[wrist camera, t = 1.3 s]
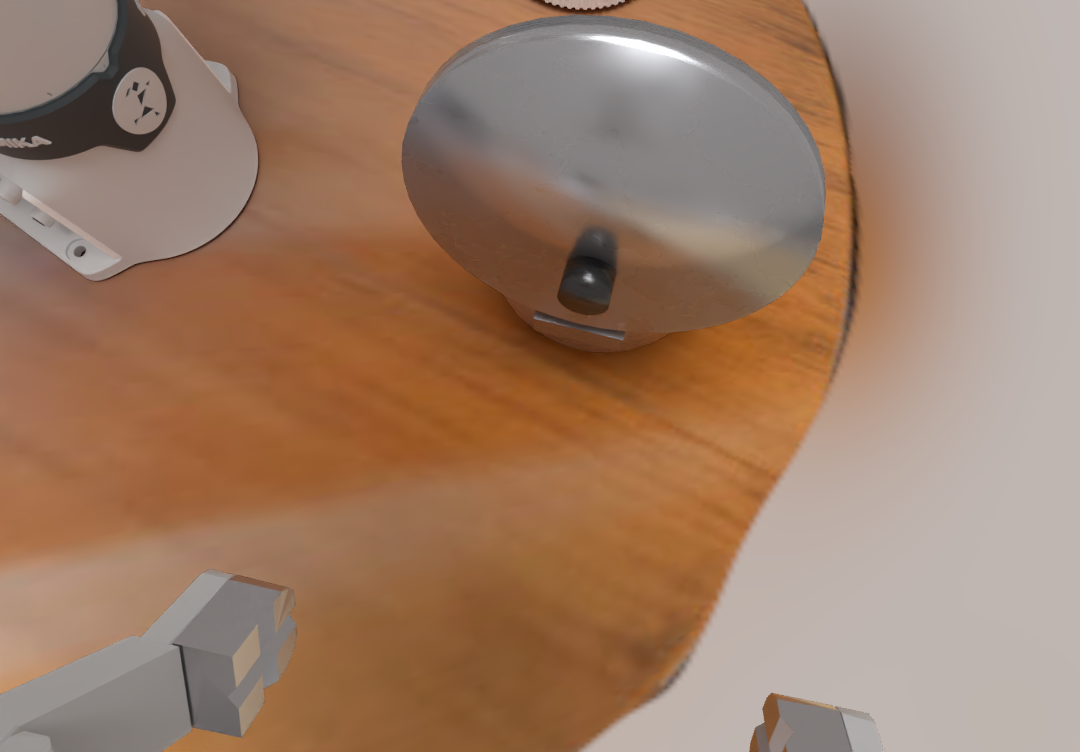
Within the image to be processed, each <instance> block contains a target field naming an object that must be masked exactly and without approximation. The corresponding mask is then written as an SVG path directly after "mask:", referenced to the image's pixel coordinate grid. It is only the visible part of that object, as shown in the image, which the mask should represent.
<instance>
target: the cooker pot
mask: <svg viewBox="0 0 1080 752" xmlns="http://www.w3.org/2000/svg"><path fill="white" fill-rule="evenodd" d="M504 297H505V298H506V300H507V301H508V303H509V304H510V306H511V307H512V308H513V310H514V311H515V312H516V313H517V314H518V315H519V316H520V317H521V319H522V320H523V321H524V322H526V323H527V324H528V325H529V326H530V327H532V328H533V329H534V330H535V331H537V332H539V333H540V334H542V335H543V336H545V337H547V338H548V339H550V340H553V341H555V342H557V343H559V344H561V345H565V346H568V347H571V348H574V349H578V350H584V351H589V352H604V353H607V352H621V351H626V350H631V349H636V348H639V347H642V346H645V345H648V344H650V343H652V342H654V341H656V340H658V339H660V338H662V337H664V336H666V335H667V334H669V333H670V332H667V333H640V332H626V331H617V330H610V329H603V328H597V327H592V326H588V325H583V324H578V323H575V322H571V321H568V320H564V319H560V318H557V317H554V316H552V315H549V314H546V313H543V312H540V311H538V310H535V309H533V308H531V307H528V306H526V305H523V304H521V303H519V302H517V301H515V300H513V299H511V298H509V297H507V296H505V295H504Z"/></svg>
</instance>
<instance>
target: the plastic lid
mask: <svg viewBox="0 0 1080 752" xmlns="http://www.w3.org/2000/svg"><path fill="white" fill-rule="evenodd" d="M545 2H546V3H549V2H551V3H552V5H555V6H556V5H560V7H564V6H566V7H567V8H568V9H571V8H572V7H573V8H575V9H578V10H579V8H583V10H587V8H591V9H595V8H596V7H599V9H600V8H603V6H607V7H610V5H611V4H614V5H617V4H618V2H625V0H545Z"/></svg>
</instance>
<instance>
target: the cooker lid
mask: <svg viewBox="0 0 1080 752" xmlns="http://www.w3.org/2000/svg"><path fill="white" fill-rule="evenodd" d="M402 169H403V177H404V182H405V185H406V189H407V192H408V195H409V198H410V200H411V203H412V205H413V207H414V209H415V211H416V213H417V215H418V217H419V218H420V220H421V221H422V223H423V224H424V226H425V228H426V229H427V231H428V232H429V233H430V234H431V236H432V237H433V238H434V239H435V240H436V242H437V243H438V244H439V245H440V246H441V247H442V248H443V249H444V250H445V251H446V252H447V253H448V254H449V255H450V256H451V257H452V258H453V259H454V260H455V261H456V262H457V263H458V264H460V265H461V266H462V267H463V268H464V269H465V270H467V271H468V272H469V273H471V274H472V275H473V276H475V277H476V278H478V279H479V280H481V281H482V282H483V283H485V284H486V285H488V286H490V287H491V288H493V289H495V290H496V291H498V292H500V293H501V294H503V295H505V296H507V297H509V298H511V299H513V300H515V301H517V302H519V303H521V304H523V305H526V306H528V307H531V308H533V309H535V310H538V311H540V312H543V313H546V314H549V315H552V316H554V317H557V318H560V319H564V320H568V321H571V322H575V323H578V324H583V325H588V326H592V327H597V328H603V329H610V330H617V331H626V332H640V333H667V332H682V331H689V330H696V329H703V328H708V327H712V326H716V325H721V324H724V323H727V322H730V321H733V320H736V319H739V318H742V317H744V316H747V315H749V314H751V313H753V312H755V311H758V310H760V309H762V308H763V307H765V306H766V305H768V304H770V303H771V302H773V301H775V300H776V299H778V298H779V297H780V296H781V295H783V294H784V293H785V292H786V291H788V290H789V289H790V288H791V287H792V286H793V285H794V284H795V283H796V282H797V281H798V279H799V278H800V277H801V276H802V275H803V274H804V273H805V271H806V269H807V268H808V266H809V265H810V263H811V261H812V260H813V258H814V256H815V253H816V251H817V248H818V245H819V243H820V240H821V234H822V228H823V221H824V210H825V199H826V187H825V172H824V168H823V164H822V161H821V157H820V153H819V150H818V147H817V145H816V143H815V141H814V139H813V137H812V135H811V133H810V131H809V128H808V127H807V125H806V124H805V122H804V121H803V120H802V118H801V117H800V115H799V114H798V112H797V111H796V110H795V108H794V107H793V105H792V104H791V103H790V102H789V101H788V100H787V99H786V98H785V97H784V96H783V95H782V94H781V93H780V92H779V91H778V90H777V89H776V88H775V87H774V86H773V85H772V84H771V83H770V82H769V81H768V80H767V79H765V78H764V77H763V76H761V75H760V74H759V73H757V72H756V71H755V70H753V69H752V68H751V67H750V66H748V65H747V64H746V63H744V62H743V61H741V60H739V59H737V58H736V57H734V56H732V55H730V54H729V53H727V52H725V51H723V50H722V49H720V48H718V47H716V46H715V45H712V44H710V43H708V42H705V41H703V40H700V39H698V38H696V37H693V36H691V35H688V34H686V33H684V32H681V31H678V30H674V29H671V28H667V27H663V26H660V25H656V24H653V23H649V22H645V21H639V20H633V19H626V18H619V17H613V16H594V15H568V16H558V17H548V18H539V19H535V20H531V21H526V22H522V23H518V24H514V25H510V26H507V27H505V28H502V29H500V30H497V31H495V32H492V33H490V34H487V35H485V36H482V37H480V38H479V39H477V40H475V41H474V42H472V43H470V44H469V45H467V46H466V47H464V48H462V49H461V50H459V51H458V52H457V53H456V54H454V55H453V56H452V57H451V58H450V59H449V60H448V61H446V62H445V63H444V64H443V65H442V66H441V67H440V68H439V69H438V71H437V72H436V73H435V74H434V76H433V77H432V78H431V80H430V81H429V82H428V83H427V85H426V87H425V89H424V91H423V93H422V95H421V97H420V99H419V101H418V103H417V105H416V108H415V110H414V112H413V114H412V116H411V119H410V121H409V123H408V126H407V129H406V133H405V137H404V140H403V147H402Z"/></svg>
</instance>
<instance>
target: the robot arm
mask: <svg viewBox="0 0 1080 752" xmlns="http://www.w3.org/2000/svg"><path fill="white" fill-rule="evenodd" d="M141 6H142V5H141V3H140V2H139V1H138V0H0V214H2V215H3V216H4V217H6V218H7V219H8V220H10V221H11V222H12V223H14V224H15V225H16V226H18V227H19V228H20V229H22V230H23V231H24V232H25V233H27V234H28V235H29V236H31V237H32V238H33V239H35V240H36V241H37V242H39V243H40V244H41V245H43V246H44V247H45V248H47V249H48V250H49V251H51V252H52V253H53V254H55V255H56V256H57V257H59V258H60V259H61V260H63V261H64V262H65V263H67V264H68V265H69V266H70V267H72V268H73V269H74V270H76V271H77V272H78V273H80V274H81V275H82V276H84V277H85V278H87V279H89V280H92V281H99V280H103V279H106V278H109V277H111V276H113V275H115V274H117V273H119V272H121V271H123V270H125V269H126V268H128V267H130V266H132V265H134V264H137V263H141V262H145V261H152V260H159V259H165V258H170V257H174V256H177V255H181V254H183V253H186V252H189V251H191V250H194V249H196V248H198V247H200V246H202V245H203V244H205V243H207V242H208V241H210V240H211V239H213V238H214V237H216V236H217V235H218V234H220V233H221V232H222V231H223V230H224V229H225V228H226V227H227V226H228V225H229V224H230V223H231V222H232V221H233V220H234V219H235V218H236V217H237V215H238V214H239V213H240V212H241V210H242V209H243V207H244V206H245V204H246V202H247V200H248V198H249V196H250V194H251V192H252V189H253V187H254V183H255V180H256V176H257V169H258V151H257V145H256V141H255V138H254V135H253V132H252V130H251V128H250V126H249V124H248V123H247V121H246V119H245V118H244V116H243V114H242V112H241V110H240V108H239V105H238V88H237V82H236V79H235V77H234V75H233V74H232V73H231V72H230V70H229V69H228V68H227V67H226V66H225V65H223V64H221V63H217V62H213V61H208V60H204V59H203V58H202V57H201V56H200V54H199V53H198V52H197V51H196V50H195V48H194V47H193V46H192V45H191V44H190V42H189V41H188V40H187V39H186V38H185V36H184V35H183V34H182V33H181V32H180V30H179V29H178V28H177V27H176V26H175V25H174V23H173V22H172V21H171V20H170V19H169V18H168V17H167V16H166V15H165V14H164V13H162V12H161V11H159V10H154V11H152V10H150V9H147V8H144V7H141ZM84 251H86V253H85V254H84V255H83V256H82V257H80V256H81V254H82V252H84ZM294 606H295V597H294V590H292V589H290V588H288V587H284V586H280V585H276V584H272V583H268V582H264V581H260V580H256V579H252V578H248V577H244V576H240V575H234V574H230V573H226V572H222V571H217V570H213V569H209V570H207V571H205V572H203V573H201V574H200V575H199V576H198V577H197V578H196V579H195V580H194V581H193V582H192V584H191V585H190V586H189V587H188V588H187V589H186V590H185V591H184V592H183V593H182V594H181V595H180V596H179V597H178V598H177V599H176V600H175V601H174V602H173V603H172V604H171V606H170V607H169V608H168V609H167V610H166V611H165V612H164V613H163V614H162V615H161V616H160V617H159V618H158V619H157V620H156V621H155V622H154V623H153V624H152V625H151V626H150V628H149V629H148V630H147V631H146V632H145V633H144V634H143V635H142V636H141V637H137V636H130V637H128V638H125V639H123V640H121V641H119V642H116V643H114V644H112V645H110V646H107V647H105V648H103V649H101V650H99V651H96V652H94V653H92V654H90V655H87V656H85V657H83V658H81V659H78V660H76V661H74V662H72V663H69V664H67V665H65V666H63V667H60V668H58V669H56V670H54V671H51V672H49V673H47V674H45V675H42V676H40V677H38V678H36V679H33V680H31V681H29V682H27V683H24V684H22V685H20V686H18V687H16V688H13V689H11V690H9V691H7V692H4V693H2V694H0V752H162V751H163V750H165V749H166V748H167V747H169V746H170V745H172V744H173V743H175V742H176V741H178V740H179V739H180V738H182V737H183V736H185V735H186V734H188V733H189V732H191V731H192V727H193V728H198V729H203V730H208V731H212V732H217V733H222V734H226V735H231V736H236V737H240V738H242V736H243V735H244V733H245V732H246V730H247V729H248V727H249V726H250V724H251V723H252V721H253V720H254V718H255V716H256V715H257V713H258V712H259V710H260V709H261V707H262V706H263V704H264V690H263V689H264V688H266V687H268V686H270V685H271V684H273V683H275V682H277V681H278V680H279V679H280V678H281V676H282V674H283V673H284V671H285V670H286V668H287V666H288V664H289V662H290V659H291V656H292V654H293V651H294V649H295V643H296V637H297V628H296V623H295V622H294V620H293V619H292V618H291V616H290V615H289V613H290V612H291V610H292V609H293V607H294ZM763 715H764V721H765V723H763V724H761V725H759V726H757V727H756V728H755V730H754V733H753V737H752V740H751V743H750V751H749V752H885V751H884V747H883V744H882V741H881V739H880V736H879V733H878V730H877V727H876V724H875V721H874V719H873V718H872V717H871V716H870V714H868V713H864V712H860V711H855V710H850V709H845V708H841V707H833V706H832V705H828V704H822V703H818V702H813V701H808V700H803V699H799V698H794V697H789V696H784V695H779V694H774V693H771V694H770V695H769V696H768V697H767V699H766V701H765V704H764V706H763Z"/></svg>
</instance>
